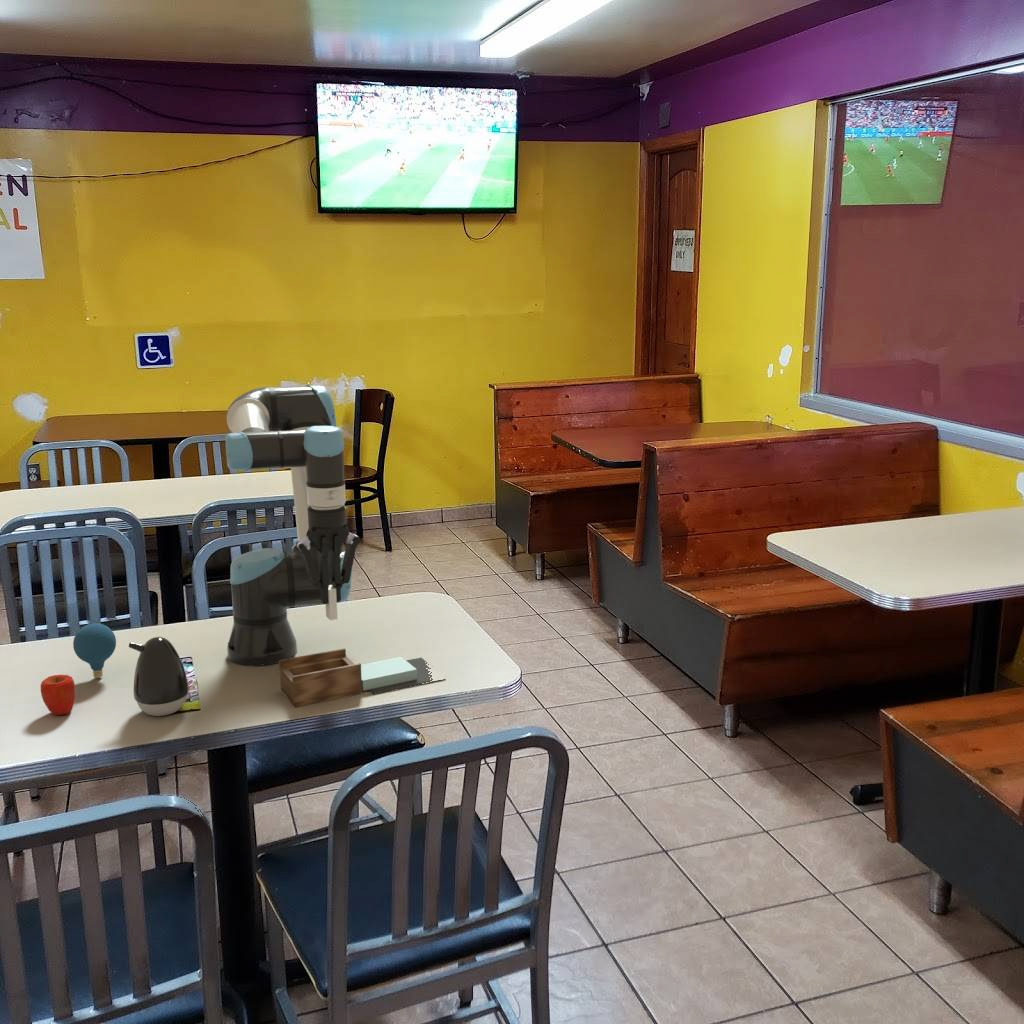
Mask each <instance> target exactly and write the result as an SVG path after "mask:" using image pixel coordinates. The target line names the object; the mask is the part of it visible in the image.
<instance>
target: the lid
mask: <svg viewBox="0 0 1024 1024" xmlns="http://www.w3.org/2000/svg"><path fill="white" fill-rule="evenodd" d="M361 678H362V692H363V691H368V690H369V689H373V688H378V687H383V686H387V685H392V684H397V683H401V682H406V681H411V680H415V679H417V669H416V668H414V667H413V666H412V665H411V664H410V663H408V662H407V661H406V659H405V658H403V657H402V656H397V657H393V658H387V659H381V660H378V661H373V662H367V663H363V664H362V663H361Z"/></svg>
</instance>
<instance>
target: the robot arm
mask: <svg viewBox="0 0 1024 1024" xmlns="http://www.w3.org/2000/svg"><path fill="white" fill-rule="evenodd" d="M335 411H336V410H335V405H334V401H333V399H332V395H331V393H330V391H329V390H328V388H327V387H325V386H323V385H310V384H307V385H297V386H295V385H294V386H293V385H292V386H291V385H289V386H264V387H263V386H262V387H258V388H257V387H256V388H254V389H251V390H248V391H246V392H244V393H242V394H240V395H239V396H238V397H236V398H235V399H234V400H233V401H232V402H231V403H230V405H229V406H228V408H227V411H226V423H227V426H228V429H229V430H230V433H227V434H226V435H225V438H224V439H225V452H226V453H225V454H226V465H227V468H228V469H229V470H231V471H244V472H248V471H253V470H254V471H255V470H269V469H270V470H271V469H289V468H290V472H291V473H290V474H291V482H292V492H293V500H294V501H293V502H294V512H295V514H294V515H295V523H296V524H295V525H296V534H297V541H296V543H294V544H293V546H292V547H291V554H290V555H287V554H286V555H285V553H284V551H283V549H280V548H278V547H277V548H276V547H275V548H271V547H266V548H265V547H264V548H258V549H255V550H251V551H248V552H245V553H242V554H241V555H239V556H238V555H237V556H236V557H235V558H234V559H233V560H232V562H231V564H230V572H229V573H230V578H229V583H230V584H231V586H230V587H231V600H232V615H233V618H232V619H233V624H232V628H231V631H230V637H229V639H228V643H227V649H226V650H227V658H228V660H229V661H231V662H232V663H234V664H238V665H241V666H242V665H243V666H252V667H253V666H268V665H273V664H277V663H278V664H279V660H283V659H288V658H293V657H294V656H295V655H296V654H297V652H298V648H297V647H298V646H297V645H298V644H297V639H296V636H295V634H294V632H293V629H292V626H291V625H290V622H289V620H288V611H287V609H288V608H297V607H299V608H300V607H310V606H319V605H325V616H326V618H327V619H329V621H335V620H338V607H337V606H338V603H343V602H346V601H347V600H348V599H349V598H350V595H351V587H352V581H353V580H352V577H353V565H354V560H355V559H354V558H355V555H356V549H357V547H358V545H359V544H360V542H361V537H360V536H358V535H357V534H356V533H352V532H350V529H349V527H348V526H347V523H348V521H347V506H346V505H345V504H346V502H347V501H346V497H347V496H346V478H345V443H344V434H343V431H342V430H343V429H341V428H340V427H337V418H336V412H335ZM345 541H346V544H345V546H344V543H345Z"/></svg>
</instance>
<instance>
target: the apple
mask: <svg viewBox="0 0 1024 1024" xmlns="http://www.w3.org/2000/svg"><path fill="white" fill-rule="evenodd" d="M40 683H41V684H40V694H41V697H42V701H43V703H44V704H45V707H46V708H47V709H48V711H49V712H50V713H51V714H53V715H55V716H63V715H67V714H69V713H71V712H72V710H73V709H74V702H75V697H76V696H75V695H76V684H75V681H74V678H73V677H72V676H71V675H68V674H54V675H50V676H48V677H46V678H44V679H43V680H42V681H41V682H40Z"/></svg>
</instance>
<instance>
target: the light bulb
mask: <svg viewBox="0 0 1024 1024" xmlns="http://www.w3.org/2000/svg"><path fill="white" fill-rule="evenodd" d="M72 644H73V651H74V653H75V655H76V656H77V658H79V659H80V660H81V661H83V662H85V663H86V664H88V665H89V666H90V669H91V670H92V674H93V677H94V678H95V679H101V678H102V677H103V676H104V675H103V673H104V671H103V668H104V666H105V662H106V661H107V660H108V659H110V657H111V656H112V655H113V654H114V652H115V650H116V647H117V638H116V635H115V632H113V629H112V628H110V627H109V626H107V625H105V624H103V623H100V622H99V623H97V622H96V623H88V624H86V625H84V626H82V627H81V628H80V629H79V630H78V631H76V633H75V636H74V637H73V642H72Z"/></svg>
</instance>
